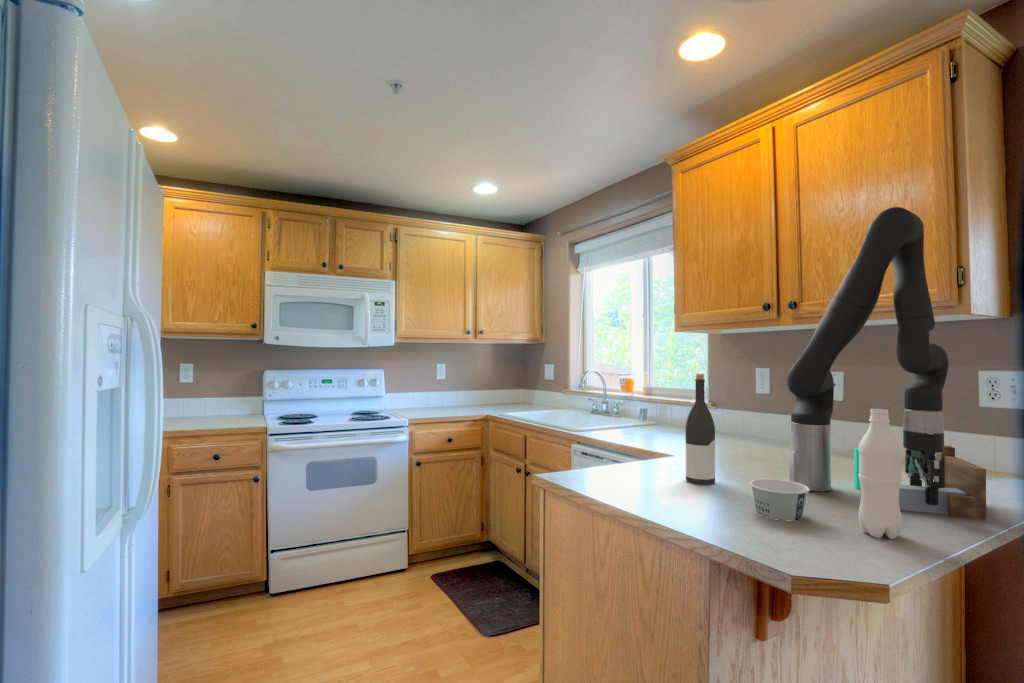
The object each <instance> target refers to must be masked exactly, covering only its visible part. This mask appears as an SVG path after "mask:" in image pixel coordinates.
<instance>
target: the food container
mask: <svg viewBox="0 0 1024 683" xmlns="http://www.w3.org/2000/svg"><path fill="white" fill-rule="evenodd" d="M749 485H750V487H751V488H752V489H751V490H752V494H753V500H754V506H755V511H756V513H757V515H759V514H760V515H759V516H761V515H762V516H761V517H763V516H765V517H764V518H766V517H768V518H767V519H769V518H772V519H771V520H774V519H778V520H777V521H780V520H797V521H800V520H799V519H801V520H802V519H803V516H804V512H805V506H806V501H807V496H808V493H809V492H811V491H810V489H809V488H808V487H807V486H805V485H802V484H800V483H796V482H791V481H790V480H784V479H775V478H759V479H753V480H750V482H749Z"/></svg>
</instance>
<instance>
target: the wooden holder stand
mask: <svg viewBox="0 0 1024 683" xmlns="http://www.w3.org/2000/svg"><path fill="white" fill-rule="evenodd" d="M935 456H936V460H942V461H943V467H944V488H953V489H959V490H961V491H963V492H965V493H967V494H968V496H959V495H948V514H947V516H949V517H951V518H960V519H962V518H963V519H970V520H971V519H972V520H974V519H975V520H983V521H987V468H984V467H982V466H979V465H976V464H974V463H972V462H969V461H967V460H963V459H962V458H959V457H957V456H956V447H954V446H952V445H944V451H943V452H937V453H935ZM938 480H939V478H938Z"/></svg>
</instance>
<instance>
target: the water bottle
mask: <svg viewBox="0 0 1024 683" xmlns="http://www.w3.org/2000/svg"><path fill="white" fill-rule="evenodd" d="M868 421H869V426H868V428H867V431H865V434H864V435H863V437H862V438H861V439H860V442H859V443H858V447H857V448H858V451H859V474H858V477H859V480H860V485H861V490H860V495H861V496H860V502H859V503H860V504H859V508H858V512H857V515H858V517H857V518H858V523H859V526H860V529H861V531H862V532H863V533H865V534H869V535H870V536H871V537H873V538H875V539H876V538H878V539H881V538H882V537H883V536H884V534H885V536H886V537H887V538H888V539H890V540H894V539H897V537H898V536H899V535H900V533H901V531H902V528H903V516H902V513H901V511H902V510H900V506H899V490H900V485H902V482H903V478H902V454H903V453H902V449H901V446H900V444H899V442H898V440H897V438H896V437H895V436H894V434H893V431H891V427H890V423H891V420H890V417H889V410H888V409H884V408H870V415H869V419H868Z"/></svg>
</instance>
